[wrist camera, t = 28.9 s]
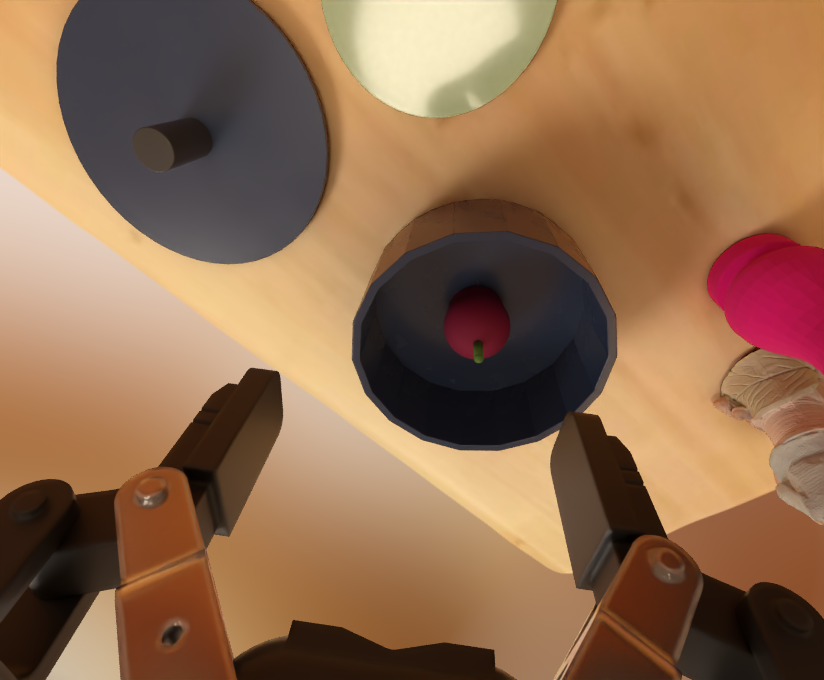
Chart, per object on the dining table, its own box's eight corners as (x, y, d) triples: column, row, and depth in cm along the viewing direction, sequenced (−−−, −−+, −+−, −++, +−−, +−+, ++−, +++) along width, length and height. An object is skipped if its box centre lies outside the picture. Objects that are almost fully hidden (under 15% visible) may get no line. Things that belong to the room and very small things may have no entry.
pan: (622, 213, 32) (662, 250, 26) (554, 404, 42) (571, 465, 36) (375, 182, 33) (355, 212, 26) (365, 379, 43) (349, 435, 36)
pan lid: (330, -16, 27) (300, -34, 22) (330, 273, 37) (310, 306, 32) (25, -51, 27) (-74, -76, 22) (109, 244, 37) (54, 273, 32)
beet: (513, 286, 36) (525, 334, 29) (500, 340, 38) (508, 394, 32) (449, 278, 36) (447, 324, 30) (440, 332, 38) (437, 385, 32)
